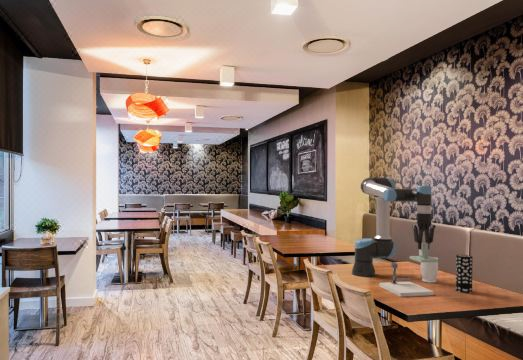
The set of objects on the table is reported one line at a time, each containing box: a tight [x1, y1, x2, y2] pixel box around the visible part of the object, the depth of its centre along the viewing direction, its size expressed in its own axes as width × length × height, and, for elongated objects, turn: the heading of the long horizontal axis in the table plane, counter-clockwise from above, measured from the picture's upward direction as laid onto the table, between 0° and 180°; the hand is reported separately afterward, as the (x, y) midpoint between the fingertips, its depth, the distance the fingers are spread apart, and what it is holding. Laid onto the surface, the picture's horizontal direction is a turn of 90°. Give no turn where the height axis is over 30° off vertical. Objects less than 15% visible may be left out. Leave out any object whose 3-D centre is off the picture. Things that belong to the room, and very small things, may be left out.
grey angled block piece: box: [390, 261, 412, 283], centre depth 241 cm, size 10×6×12 cm, turn 83°
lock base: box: [378, 281, 435, 297], centre depth 233 cm, size 23×20×2 cm
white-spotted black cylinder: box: [455, 254, 474, 294], centre depth 234 cm, size 8×8×20 cm
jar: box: [419, 255, 439, 284], centre depth 258 cm, size 11×10×15 cm
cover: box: [409, 242, 439, 264], centre depth 231 cm, size 12×10×10 cm
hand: (423, 255), depth 231 cm, fingers closed on cover, 2 cm apart
